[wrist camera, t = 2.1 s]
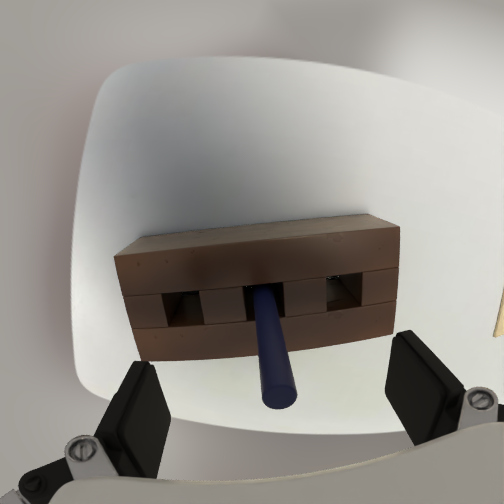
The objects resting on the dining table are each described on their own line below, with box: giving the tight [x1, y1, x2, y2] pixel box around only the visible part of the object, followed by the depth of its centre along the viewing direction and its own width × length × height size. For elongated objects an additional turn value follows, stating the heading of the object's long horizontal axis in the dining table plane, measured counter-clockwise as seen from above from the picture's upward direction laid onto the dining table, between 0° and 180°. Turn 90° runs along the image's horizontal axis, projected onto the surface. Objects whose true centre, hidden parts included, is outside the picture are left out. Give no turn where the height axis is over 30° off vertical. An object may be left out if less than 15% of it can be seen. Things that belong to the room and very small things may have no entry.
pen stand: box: [114, 214, 400, 361], centre depth 20 cm, size 7×17×5 cm, turn 96°
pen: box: [252, 283, 297, 409], centre depth 16 cm, size 1×1×13 cm
